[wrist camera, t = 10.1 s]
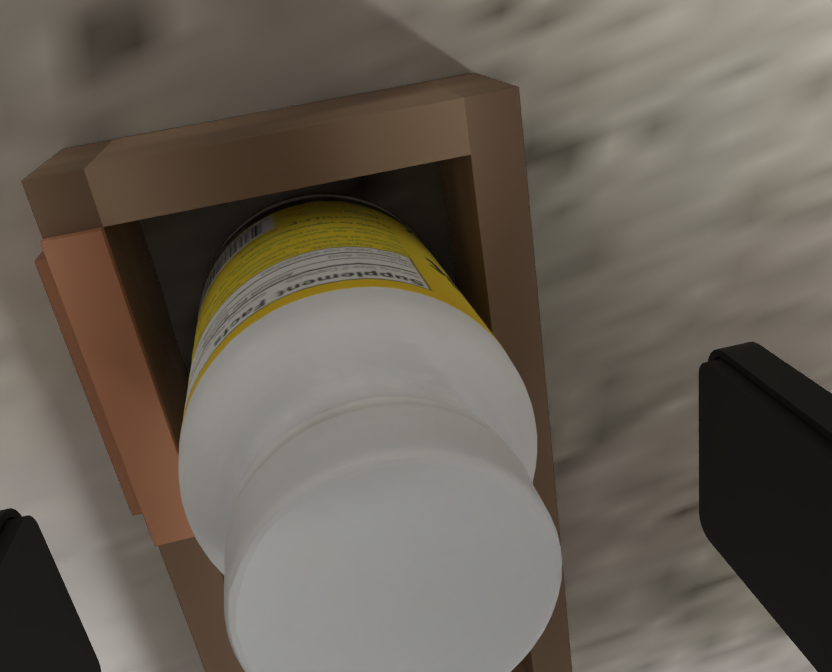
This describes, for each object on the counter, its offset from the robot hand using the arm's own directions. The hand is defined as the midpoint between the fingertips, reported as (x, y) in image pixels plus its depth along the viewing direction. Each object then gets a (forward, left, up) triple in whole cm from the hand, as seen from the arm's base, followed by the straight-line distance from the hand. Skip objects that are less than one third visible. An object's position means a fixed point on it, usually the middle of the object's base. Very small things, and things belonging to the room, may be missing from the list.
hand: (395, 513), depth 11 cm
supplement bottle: (0, 0, -8) cm, 8 cm away
